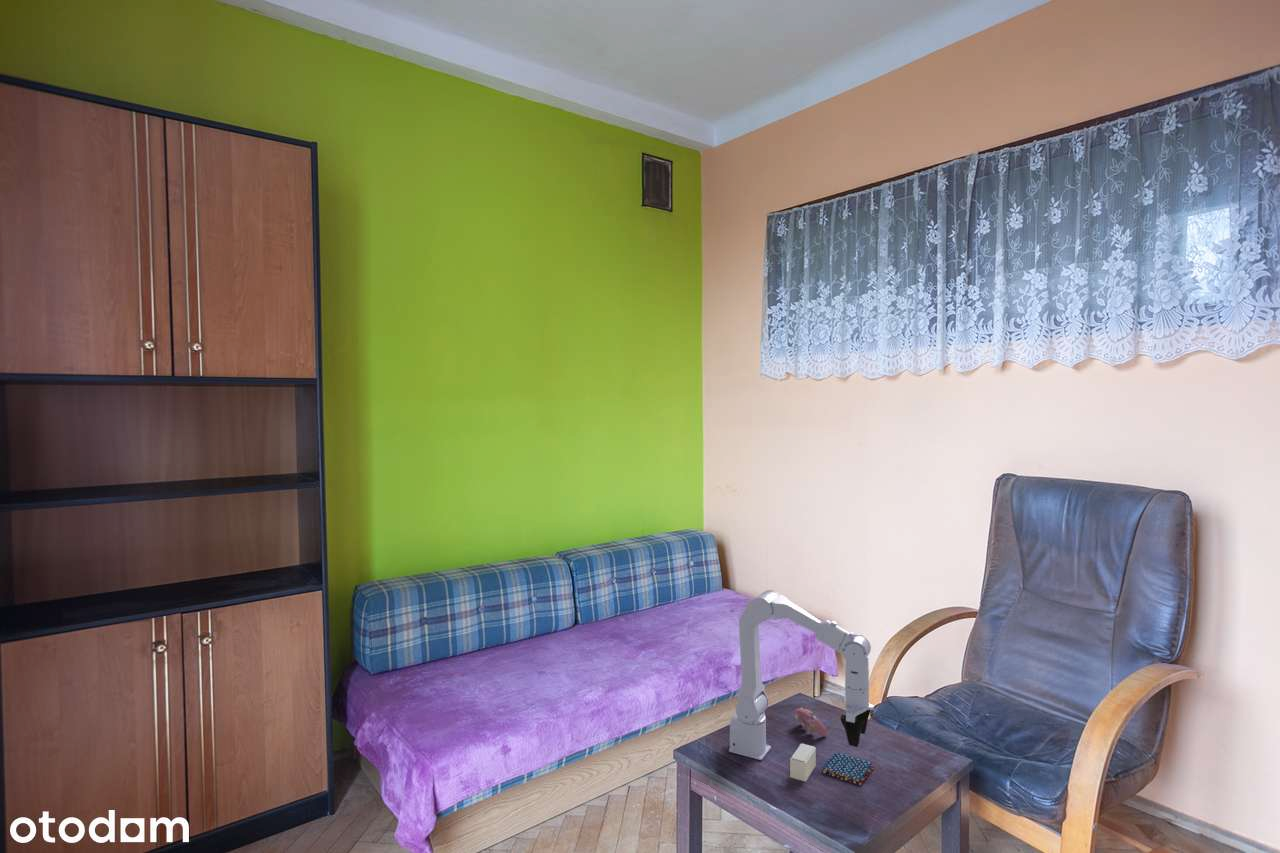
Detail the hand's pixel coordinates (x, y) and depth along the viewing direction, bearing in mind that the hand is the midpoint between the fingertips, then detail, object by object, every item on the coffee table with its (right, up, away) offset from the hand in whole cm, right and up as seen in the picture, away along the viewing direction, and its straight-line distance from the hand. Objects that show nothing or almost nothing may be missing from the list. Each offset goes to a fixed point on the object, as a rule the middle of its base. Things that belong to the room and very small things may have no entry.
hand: (857, 738), depth 168 cm
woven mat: (-1, -11, +4) cm, 12 cm away
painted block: (-13, -11, +4) cm, 17 cm away
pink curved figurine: (-5, -10, +25) cm, 28 cm away
